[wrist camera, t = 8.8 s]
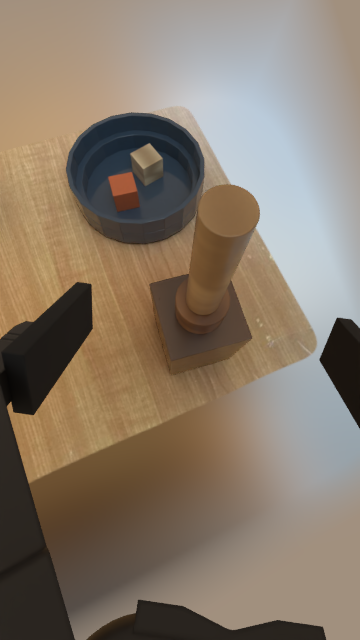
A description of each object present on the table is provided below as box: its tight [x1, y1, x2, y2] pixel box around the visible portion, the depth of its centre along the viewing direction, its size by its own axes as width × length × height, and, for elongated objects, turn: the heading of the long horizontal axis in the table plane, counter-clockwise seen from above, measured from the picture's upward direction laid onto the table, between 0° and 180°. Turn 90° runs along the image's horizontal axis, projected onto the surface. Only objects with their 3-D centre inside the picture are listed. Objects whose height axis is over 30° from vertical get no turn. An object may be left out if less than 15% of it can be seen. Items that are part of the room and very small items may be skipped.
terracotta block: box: [108, 172, 140, 212], centre depth 44 cm, size 4×4×4 cm
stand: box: [149, 274, 252, 375], centre depth 34 cm, size 8×8×12 cm
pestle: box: [175, 184, 260, 334], centre depth 21 cm, size 5×5×15 cm
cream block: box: [130, 143, 163, 186], centre depth 45 cm, size 4×4×4 cm
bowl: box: [66, 113, 204, 244], centre depth 44 cm, size 19×19×6 cm
